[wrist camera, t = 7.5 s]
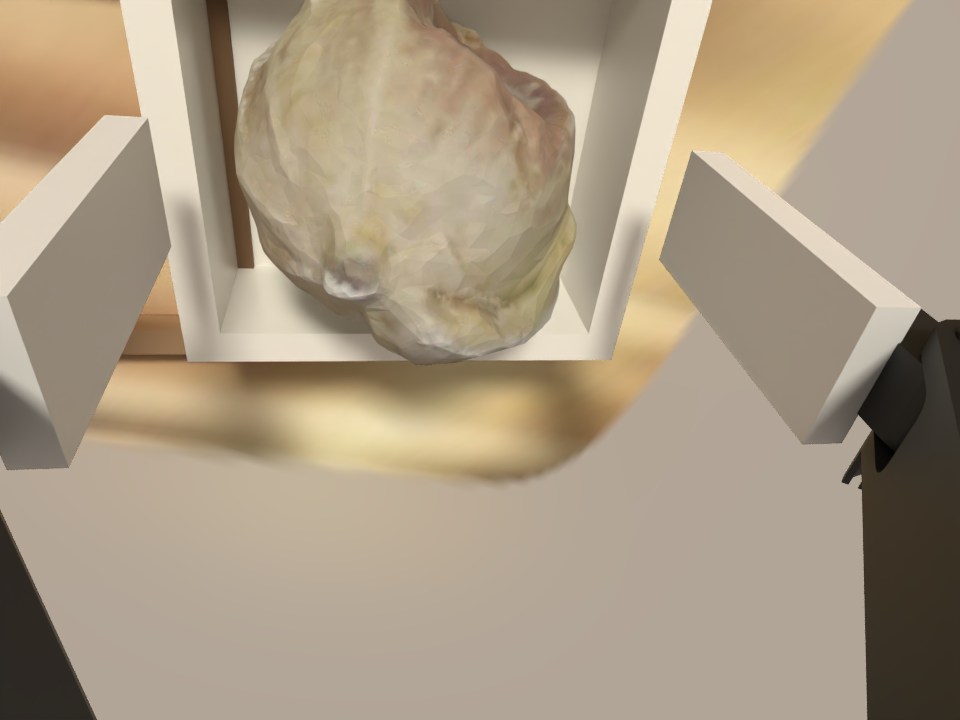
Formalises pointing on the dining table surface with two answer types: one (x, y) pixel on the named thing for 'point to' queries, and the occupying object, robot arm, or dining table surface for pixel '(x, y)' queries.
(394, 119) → the garlic bulb
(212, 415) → the dining table surface
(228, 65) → the frame
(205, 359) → the open box
